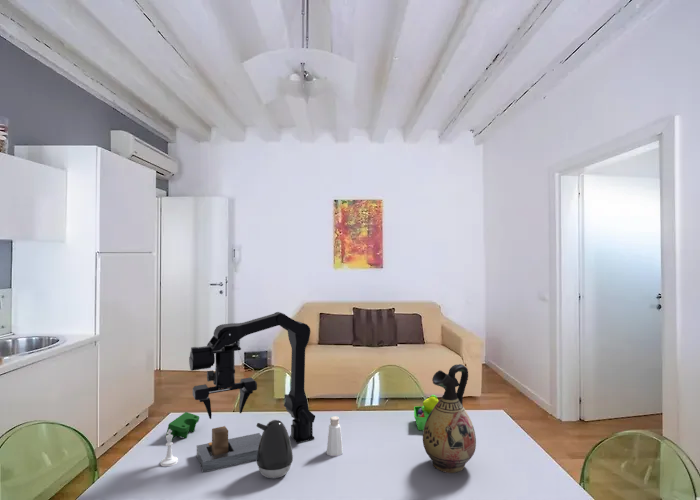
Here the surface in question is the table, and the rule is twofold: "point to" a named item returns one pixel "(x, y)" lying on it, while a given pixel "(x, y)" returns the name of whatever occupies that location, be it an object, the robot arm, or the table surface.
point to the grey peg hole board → (229, 453)
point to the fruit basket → (424, 411)
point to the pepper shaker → (334, 438)
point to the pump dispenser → (274, 450)
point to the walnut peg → (219, 440)
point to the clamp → (183, 425)
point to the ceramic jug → (450, 425)
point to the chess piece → (169, 452)
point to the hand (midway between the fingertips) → (225, 415)
